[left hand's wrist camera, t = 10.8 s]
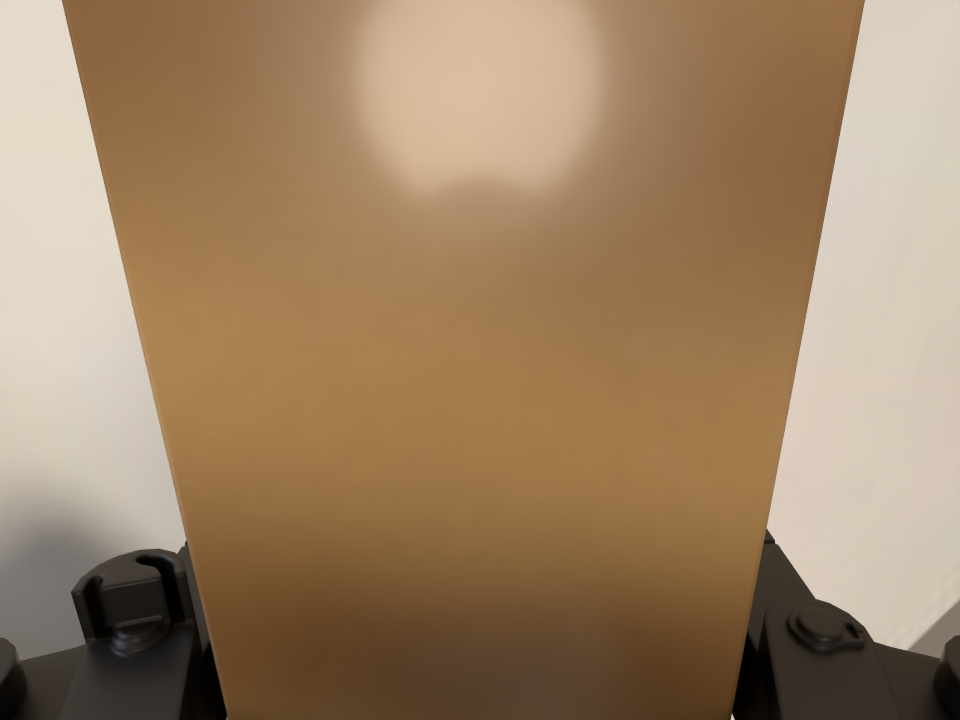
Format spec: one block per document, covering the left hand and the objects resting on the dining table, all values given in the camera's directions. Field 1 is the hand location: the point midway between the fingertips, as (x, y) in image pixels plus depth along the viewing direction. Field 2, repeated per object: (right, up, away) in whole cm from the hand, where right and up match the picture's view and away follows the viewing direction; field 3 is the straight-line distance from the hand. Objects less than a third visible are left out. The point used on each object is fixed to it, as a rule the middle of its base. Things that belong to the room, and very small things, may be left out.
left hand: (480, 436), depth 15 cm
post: (0, +18, -6) cm, 19 cm away
